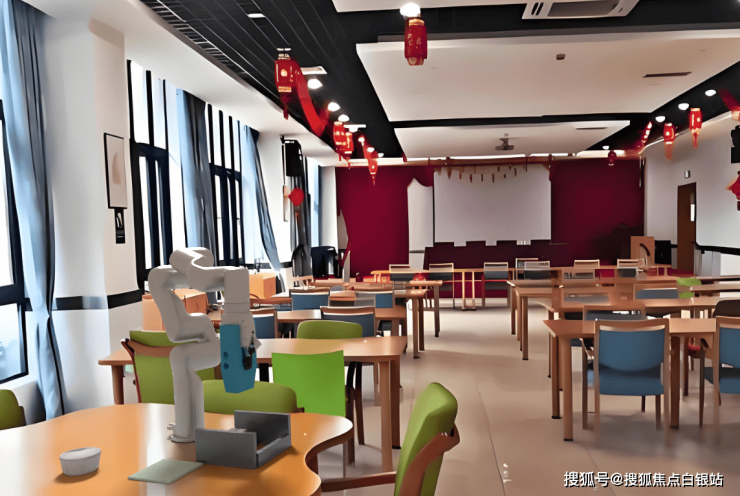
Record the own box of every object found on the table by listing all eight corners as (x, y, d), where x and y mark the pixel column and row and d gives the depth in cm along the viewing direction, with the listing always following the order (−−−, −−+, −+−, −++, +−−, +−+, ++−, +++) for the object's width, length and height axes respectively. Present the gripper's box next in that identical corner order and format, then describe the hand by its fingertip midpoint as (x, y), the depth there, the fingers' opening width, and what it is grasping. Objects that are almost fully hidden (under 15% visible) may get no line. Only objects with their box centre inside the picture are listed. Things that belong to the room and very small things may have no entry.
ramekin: (90, 461, 189) (90, 444, 189) (109, 468, 182) (108, 450, 182) (53, 472, 180) (52, 454, 180) (70, 480, 173) (70, 461, 173)
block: (233, 395, 180) (231, 326, 180) (220, 393, 182) (218, 325, 182) (258, 385, 191) (256, 321, 190) (245, 384, 193) (243, 320, 193)
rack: (196, 462, 183) (194, 429, 183) (237, 440, 204) (236, 409, 204) (256, 469, 176) (254, 434, 176) (292, 445, 197) (291, 413, 197)
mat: (127, 479, 172) (127, 476, 172) (163, 460, 186) (163, 458, 186) (168, 484, 167) (168, 481, 167) (202, 465, 181) (202, 463, 181)
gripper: (205, 309, 185) (207, 370, 186) (256, 310, 180) (258, 372, 180) (219, 306, 192) (221, 365, 193) (268, 307, 187) (270, 367, 187)
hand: (239, 368), depth 186 cm, fingers closed on block, 5 cm apart
